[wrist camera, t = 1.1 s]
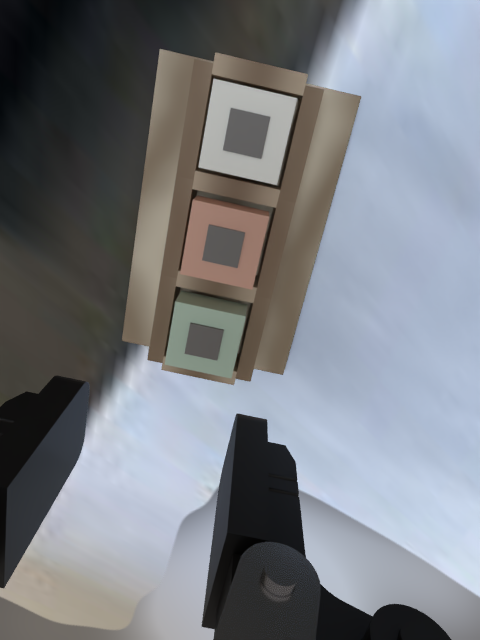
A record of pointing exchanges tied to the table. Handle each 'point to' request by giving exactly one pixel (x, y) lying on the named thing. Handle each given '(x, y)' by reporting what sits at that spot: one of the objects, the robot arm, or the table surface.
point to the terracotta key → (224, 242)
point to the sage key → (205, 334)
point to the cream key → (246, 131)
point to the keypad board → (280, 200)
